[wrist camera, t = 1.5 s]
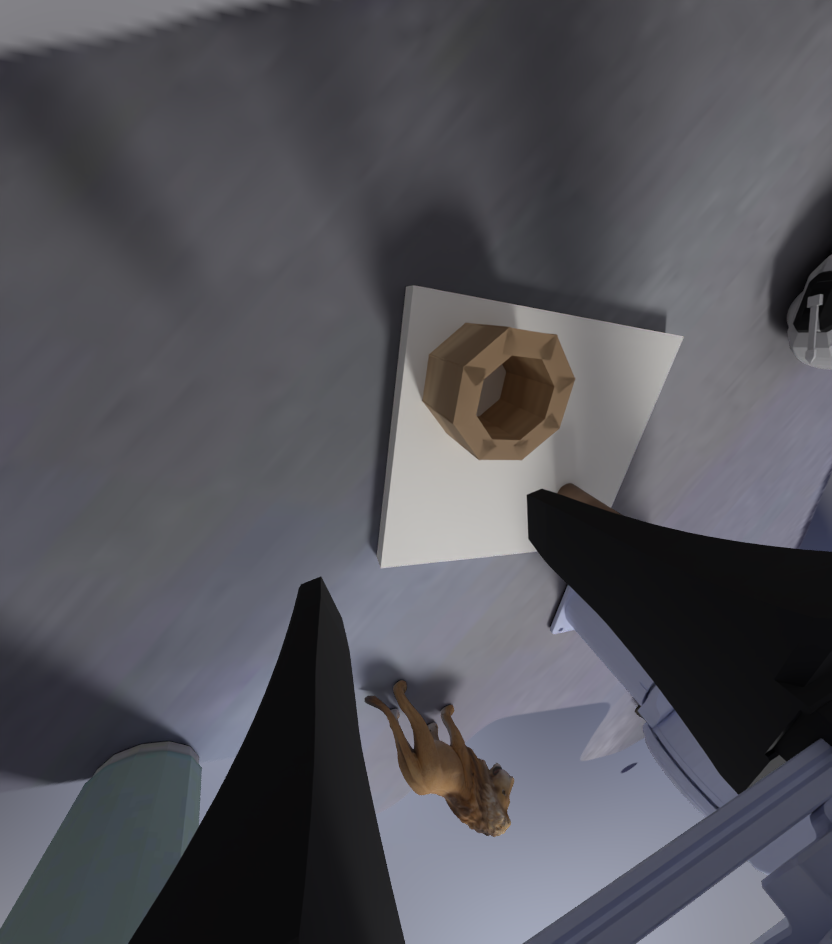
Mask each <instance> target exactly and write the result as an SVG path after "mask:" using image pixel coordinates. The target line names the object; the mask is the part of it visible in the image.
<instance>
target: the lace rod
mask: <svg viewBox="0 0 832 944" xmlns="http://www.w3.org/2000/svg"><path fill="white" fill-rule="evenodd" d="M558 494H560V495H563V496H566V497H569V498H572V499H575V500H578V501H581V502H583V503H586V504H589V505H592V506H595V507H598V508H601V509H604V510H607V511H610V512H613V513H616V514H620V513H618V512H617V511H615V510H613V509H612V508H610V507H609V506H607V505H606V504H604V503H602V502H601V501H599V500H598V499H596V498H595V497H593V496H591V495H590V494H588V493H587V492H585V491H584V490H582V489H580V488H579V487H577V486H576V485H574V484H572V483H567V484H565V485H563V486H562V487H561V488H560V489H559V491H558ZM620 515H621V514H620Z"/></svg>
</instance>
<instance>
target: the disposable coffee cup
mask: <svg viewBox="0 0 832 944" xmlns="http://www.w3.org/2000/svg"><path fill="white" fill-rule="evenodd" d="M201 771H202V767H201V766H200V765H199V756H198V755H197V754H196V753H195V752H194V750H193V749H192V748H191V747H190V746H187V745H182V744H178V743H174V742H170V741H168V742H158V743H148V744H141V745H138V746H135V747H133V748H130V749H128V750H125V751H123V752H120V753H118V754H115V755H113V756H112V757H111V758H110V759H109V760H108V761H107V762H105V763H104V764H103V765H102V766H101V767H100V768H98V769H97V770H96V772H95V774H94V775H93V777H92V778H91V779H90V780H89V781H88V782H86V783H85V785H84V786H83V788H82V790H81V791H80V793H79V795H78V797H77V798H76V800H75V802H74V803H73V805H72V807H71V809H70V810H69V812H68V814H67V815H66V817H65V819H64V821H63V822H62V824H61V826H60V828H59V829H58V831H57V833H56V835H55V836H54V838H53V840H52V841H51V843H50V845H49V846H48V848H47V850H46V852H45V853H44V855H43V857H42V858H41V860H40V862H39V864H38V865H37V867H36V869H35V870H34V872H33V874H32V875H31V877H30V879H29V881H28V883H27V884H26V886H25V888H24V889H23V891H22V893H21V894H20V896H19V898H18V900H17V901H16V903H15V905H14V906H13V908H12V910H11V912H10V913H9V915H8V917H7V919H6V920H5V922H4V924H3V925H2V927H1V929H0V944H128V943H129V941H130V939H131V938H132V936H133V935H134V933H135V931H136V930H137V928H138V927H139V925H140V923H141V922H142V920H143V919H144V917H145V916H146V914H147V912H148V911H149V909H150V908H151V906H152V904H153V903H154V901H155V900H156V898H157V896H158V895H159V893H160V892H161V890H162V888H163V887H164V885H165V884H166V882H167V880H168V879H169V877H170V875H171V874H172V872H173V870H174V869H175V867H176V865H177V864H178V862H179V860H180V858H181V857H182V855H183V853H184V851H185V850H186V848H187V846H188V844H189V843H190V841H191V839H192V837H193V836H194V834H195V832H196V830H197V829H198V827H199V810H200V790H201Z"/></svg>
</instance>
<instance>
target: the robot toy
mask: <svg viewBox="0 0 832 944" xmlns="http://www.w3.org/2000/svg"><path fill="white" fill-rule="evenodd" d="M787 323H788V326H789V329H788V331H787V334H788V339H789V345H790V349H791V350H792V352H793V353H794V354H795V356H796V357H797V358H798V359H799V360H800V361H801V362H803V363H805V364H807V365H810V366H813V367H816V368H819V369H832V254H831V255H830V256H829V257H827V258H826V259H825V260H824V261H823V262H822V263H821V264H820V265H819V266H818V267H817V268H816V269H815V270H814V271H813V272H812V273H811V274H810V275H809V278H808V280H807V283H806V285H805V288H804V290H803V292H801V293H800V294H799V295H798V296H797V297H796V298H795V300H794V301H793V302H792V304H791V305H790V307H789V309H788V313H787Z"/></svg>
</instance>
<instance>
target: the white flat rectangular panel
mask: <svg viewBox="0 0 832 944" xmlns="http://www.w3.org/2000/svg"><path fill="white" fill-rule="evenodd" d="M464 323H475V324H486V325H496V326H507V327H511V328H516V329H522V330H528V331H534V332H541V333H549V334H557V335H558V339H559V341H560V343H561V346H562V348H563V351H564V353H565V355H566V358H567V360H568V363H569V365H570V367H571V370H572V372H573V375H574V377H575V381H574V385H573V388H572V391H571V394H570V397H569V400H568V404H567V407H566V410H565V413H564V416H563V419H562V422H561V426H560V429H558V430H557V431H556V432H555V433H554V434H552V435H551V436H550V437H549V438H548V439H546V440H545V441H544V442H543V443H542V444H540V445H539V446H538V447H537V448H536V449H535V450H533V451H532V452H531V453H530V454H529V455H527V456H526V457H525V458H524V459H523V460H478V459H477V458H476V457H474V456H473V455H472V454H471V453H470V452H468V451H467V450H466V449H465V448H464V447H462V446H461V445H460V444H459V443H458V442H456V441H455V440H454V439H453V438H452V437H450V436H449V435H448V434H447V433H446V432H445V430H444V429H443V428H442V427H441V425H440V424H439V423H438V421H437V420H436V419H435V417H434V416H433V415H432V413H431V412H430V411H429V409H428V408H427V407H426V405H425V404H424V403H423V402H422V400H423V393H424V386H425V379H426V372H427V365H428V358H429V354H430V353H431V352H432V351H434V350H435V349H436V348H437V347H438V346H439V345H440V344H442V343H443V342H444V341H445V340H446V339H447V338H449V337H450V336H451V335H452V334H453V333H454V332H455V331H457V330H458V329H459V328H460V327H461V326H462V325H463V324H464ZM683 337H684V336H678V335H673V334H668V333H662V332H657V331H652V330H647V329H641V328H636V327H631V326H626V325H620V324H615V323H610V322H605V321H599V320H594V319H589V318H583V317H578V316H573V315H568V314H562V313H557V312H552V311H547V310H541V309H536V308H531V307H526V306H520V305H515V304H510V303H504V302H499V301H494V300H489V299H483V298H478V297H473V296H468V295H462V294H457V293H452V292H446V291H441V290H436V289H431V288H425V287H420V286H415V285H412V286H407V287H406V292H405V301H404V310H403V319H402V328H401V338H400V347H399V356H398V365H397V374H396V384H395V393H394V402H393V411H392V420H391V429H390V439H389V448H388V457H387V466H386V475H385V485H384V494H383V503H382V512H381V521H380V530H379V540H378V549H377V559H378V562H379V565H380V568H387V567H397V566H406V565H415V564H425V563H434V562H444V561H453V560H462V559H472V558H481V557H490V556H500V555H509V554H519V553H528V552H537V550H536V549H535V547H534V546H533V545H532V543H531V542H530V541H529V539H528V519H527V494H530V493H532V492H535V491H537V490H540V489H545V490H548V491H551V492H555V493H558V491H559V489H560V488H561V487H562V486H563V485H565V484H567V483H572V484H574V485H576V486H577V487H579V488H580V489H582V490H584V491H585V492H587V493H588V494H590V495H591V496H593V497H595V498H596V499H598V500H599V501H601V502H602V503H604V504H606V505H607V506H609V507H610V508H611V507H612V505H613V503H614V500H615V498H616V496H617V493H618V491H619V489H620V486H621V484H622V481H623V479H624V477H625V474H626V472H627V470H628V467H629V465H630V463H631V460H632V458H633V455H634V453H635V451H636V448H637V446H638V444H639V441H640V439H641V437H642V434H643V432H644V429H645V427H646V425H647V422H648V420H649V418H650V415H651V413H652V411H653V408H654V406H655V403H656V401H657V399H658V396H659V394H660V392H661V389H662V387H663V385H664V382H665V380H666V377H667V375H668V373H669V370H670V368H671V366H672V363H673V361H674V359H675V356H676V354H677V351H678V349H679V347H680V344H681V342H682V340H683ZM505 375H506V370H505V369H504V367H503V365H502V364H501V365H500V366H499V367H498V368H497V369H496V370H494V371H493V372H492V373H491V374H490V375H489V376H487V377H486V378H485V379H484V381H483V385H482V390H481V395H480V400H479V404H478V409H477V414H476V416H480V415H481V414H483V413H484V412H485V411H486V410H487V409H488V408H490V407H491V406H492V405H493V404H494V403H496V402H497V401H498V400H499V399H500V396H501V392H502V387H503V383H504V379H505Z"/></svg>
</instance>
